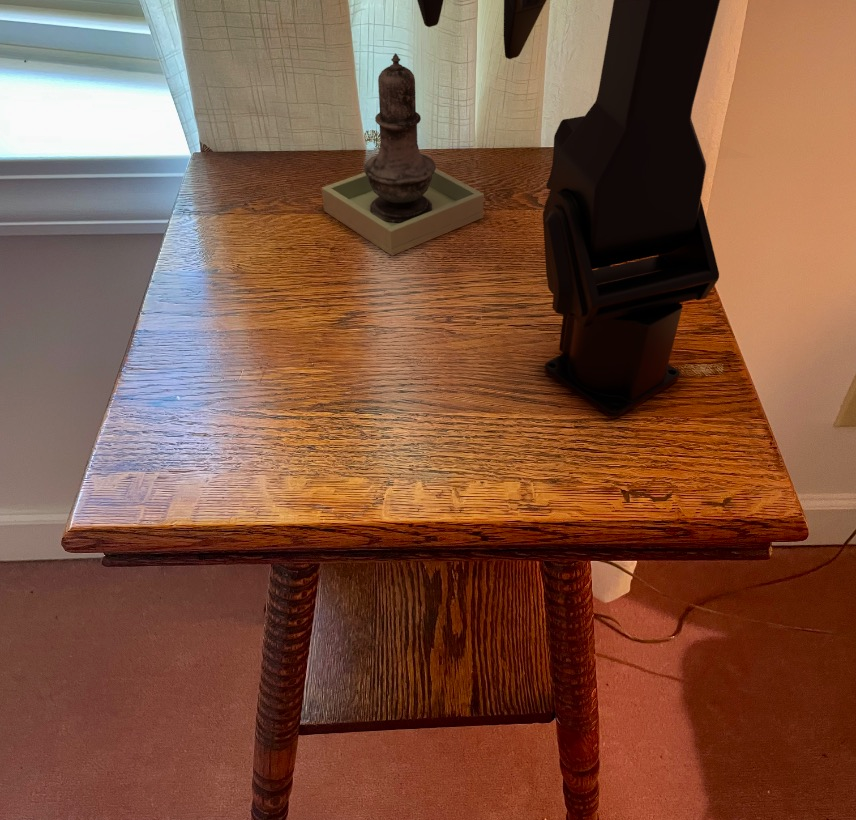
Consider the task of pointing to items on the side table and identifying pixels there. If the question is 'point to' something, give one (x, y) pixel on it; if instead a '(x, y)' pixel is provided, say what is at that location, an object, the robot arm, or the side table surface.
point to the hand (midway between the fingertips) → (470, 41)
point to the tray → (448, 213)
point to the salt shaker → (398, 151)
